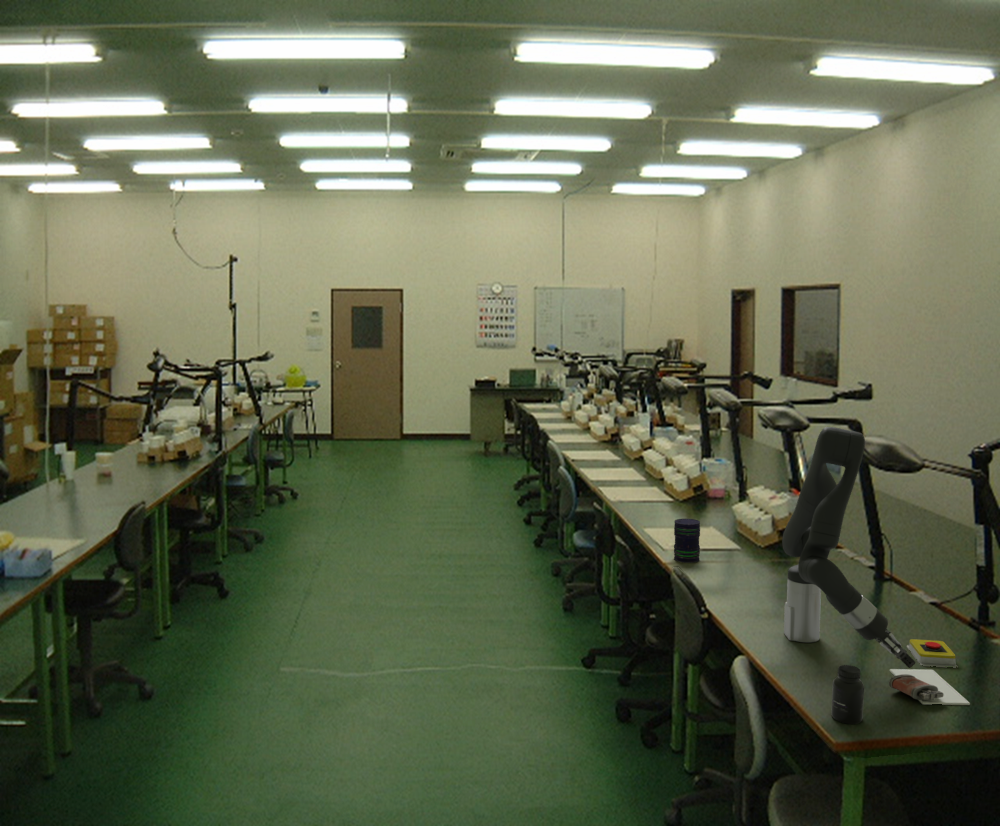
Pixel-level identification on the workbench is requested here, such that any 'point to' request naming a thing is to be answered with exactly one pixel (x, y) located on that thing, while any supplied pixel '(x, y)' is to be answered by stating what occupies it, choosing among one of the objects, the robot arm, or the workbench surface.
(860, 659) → the workbench surface
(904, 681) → the lighter
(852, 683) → the supplement bottle
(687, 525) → the storage jar
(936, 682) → the mat
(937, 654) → the emergency button
